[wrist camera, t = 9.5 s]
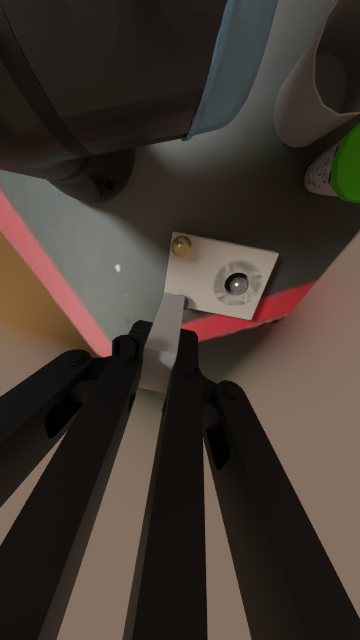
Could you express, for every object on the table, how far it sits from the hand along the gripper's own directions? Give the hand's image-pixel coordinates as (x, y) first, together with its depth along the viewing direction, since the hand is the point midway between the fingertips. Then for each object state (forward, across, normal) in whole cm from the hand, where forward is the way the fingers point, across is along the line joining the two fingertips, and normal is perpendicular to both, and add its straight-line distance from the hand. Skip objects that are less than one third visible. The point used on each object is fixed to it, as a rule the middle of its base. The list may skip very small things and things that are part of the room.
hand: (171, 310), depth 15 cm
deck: (+23, +6, -3) cm, 24 cm away
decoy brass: (+19, -1, +1) cm, 19 cm away
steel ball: (+22, +11, -3) cm, 24 cm away
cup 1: (+24, +11, +21) cm, 34 cm away
